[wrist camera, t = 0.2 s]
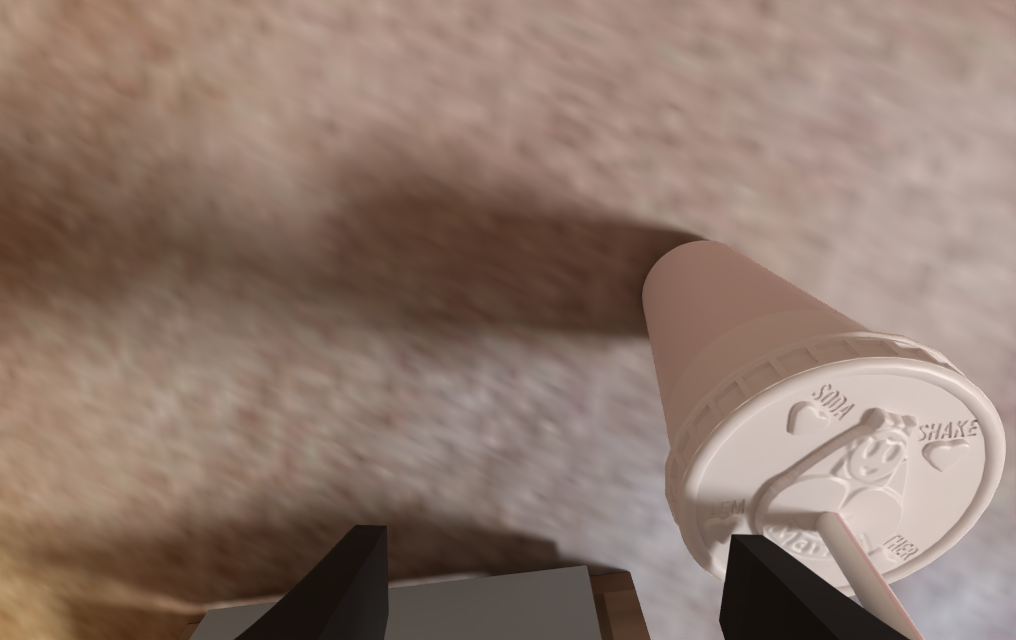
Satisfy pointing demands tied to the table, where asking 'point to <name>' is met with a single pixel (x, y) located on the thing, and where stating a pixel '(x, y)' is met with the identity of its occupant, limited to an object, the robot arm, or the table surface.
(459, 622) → the panel
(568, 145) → the table surface
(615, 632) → the box
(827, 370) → the smoothie
